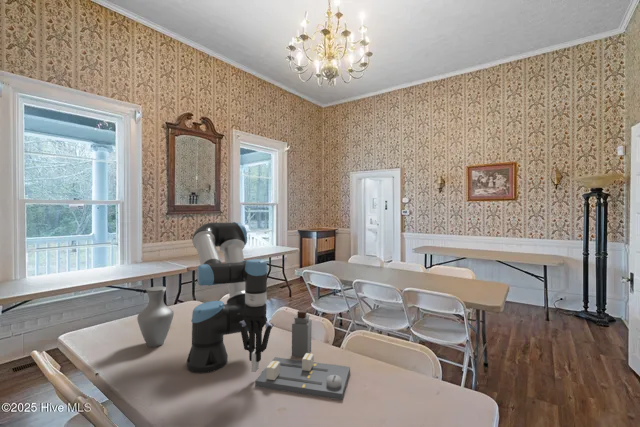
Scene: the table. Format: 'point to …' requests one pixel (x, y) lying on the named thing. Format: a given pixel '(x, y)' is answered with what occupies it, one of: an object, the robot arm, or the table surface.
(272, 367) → the fader near
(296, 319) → the perfume bottle
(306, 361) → the fader far
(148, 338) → the vase
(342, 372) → the console
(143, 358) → the table surface
